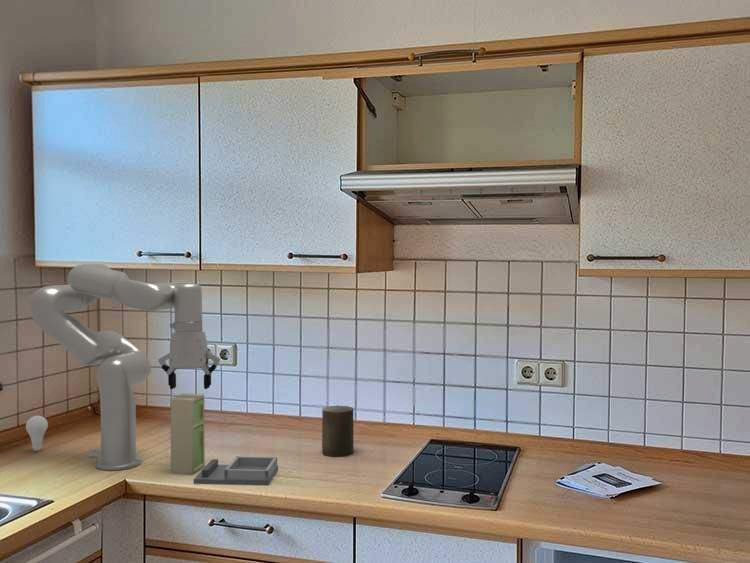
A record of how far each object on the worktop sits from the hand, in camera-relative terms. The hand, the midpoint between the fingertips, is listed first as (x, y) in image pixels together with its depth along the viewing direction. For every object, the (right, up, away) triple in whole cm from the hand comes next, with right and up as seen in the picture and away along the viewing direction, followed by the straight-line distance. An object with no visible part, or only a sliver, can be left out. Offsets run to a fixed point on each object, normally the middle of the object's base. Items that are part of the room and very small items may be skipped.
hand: (189, 388), depth 195 cm
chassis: (+14, -23, -5) cm, 28 cm away
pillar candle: (+41, -23, +19) cm, 50 cm away
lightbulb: (-53, -23, +20) cm, 60 cm away
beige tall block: (0, -23, +1) cm, 24 cm away
